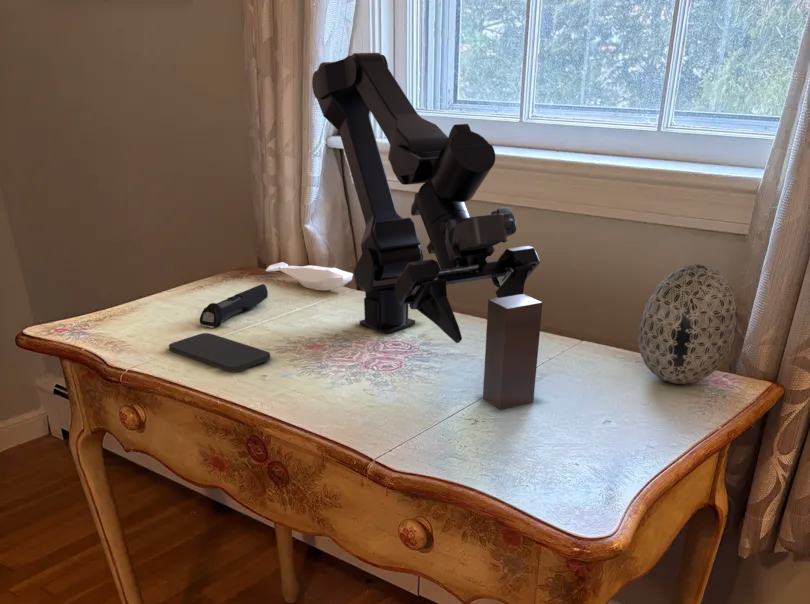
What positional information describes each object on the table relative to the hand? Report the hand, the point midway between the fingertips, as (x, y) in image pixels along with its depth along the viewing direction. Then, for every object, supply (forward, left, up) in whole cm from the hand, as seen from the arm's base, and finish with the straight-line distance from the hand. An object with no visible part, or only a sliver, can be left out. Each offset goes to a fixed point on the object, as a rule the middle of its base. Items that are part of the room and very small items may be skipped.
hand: (490, 335), depth 99 cm
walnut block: (+1, +4, -7) cm, 8 cm away
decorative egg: (-19, +17, -7) cm, 26 cm away
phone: (+17, -35, -7) cm, 40 cm away
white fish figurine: (-14, -52, -7) cm, 54 cm away
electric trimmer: (+4, -49, -7) cm, 50 cm away
